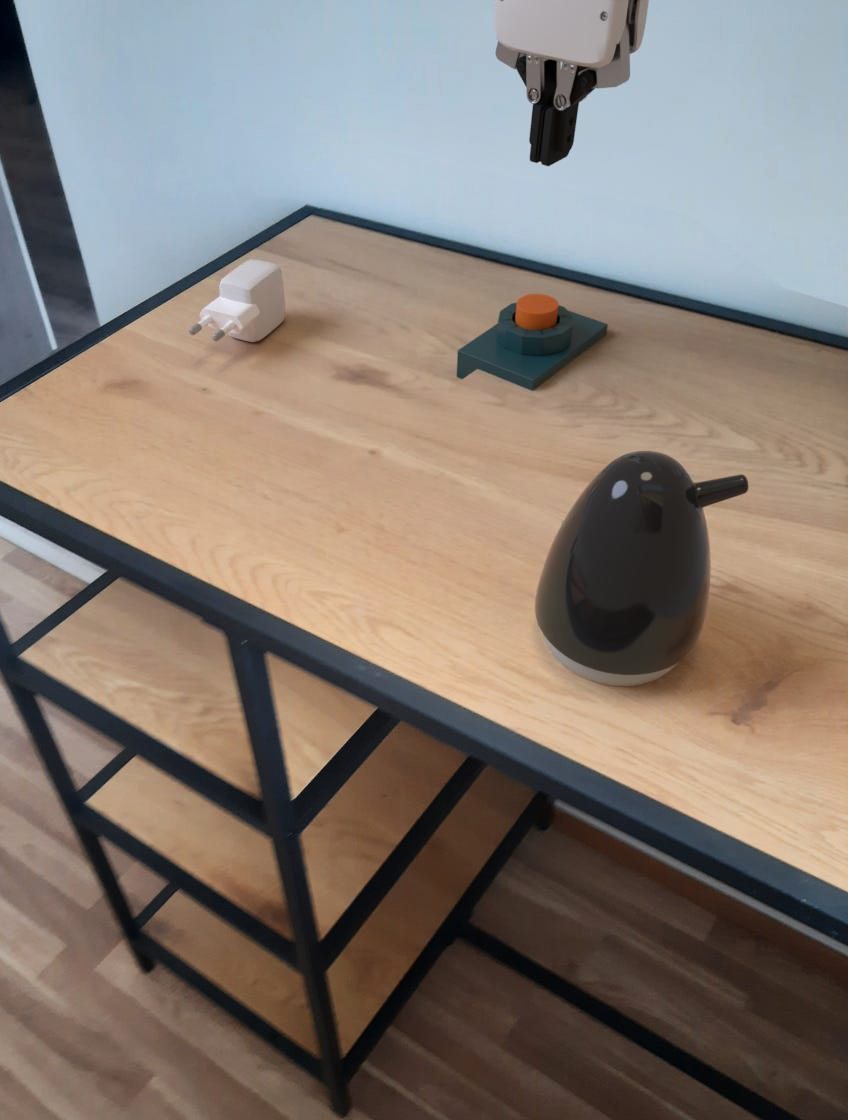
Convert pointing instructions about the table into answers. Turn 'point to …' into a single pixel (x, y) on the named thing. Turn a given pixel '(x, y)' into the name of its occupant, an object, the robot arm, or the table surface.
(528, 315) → the orange button
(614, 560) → the pump dispenser
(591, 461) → the table surface
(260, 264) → the power adapter
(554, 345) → the button housing
